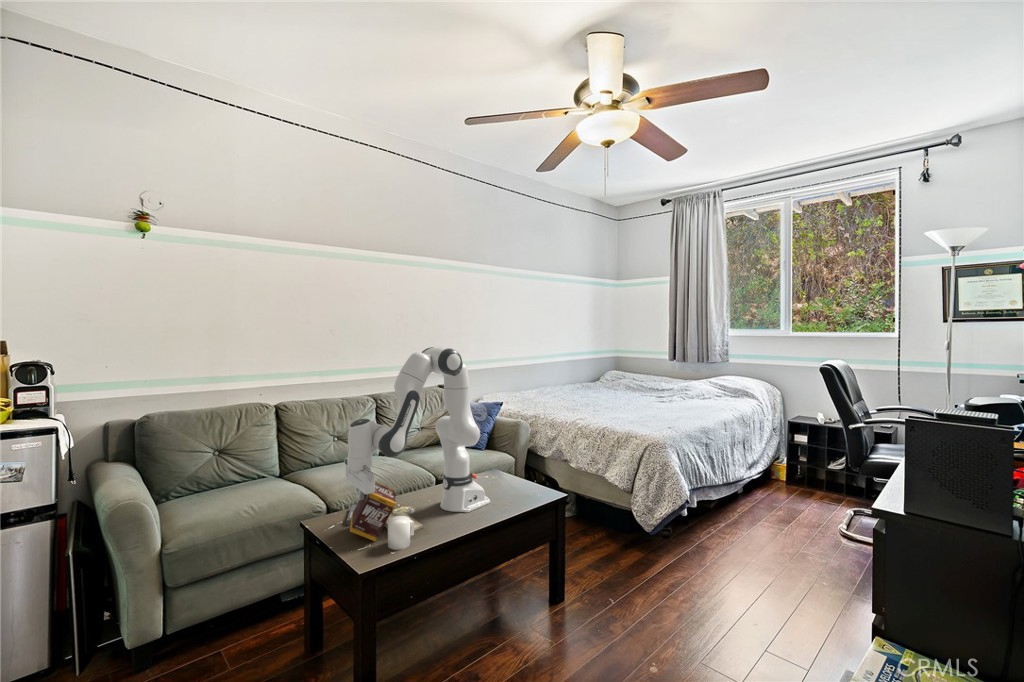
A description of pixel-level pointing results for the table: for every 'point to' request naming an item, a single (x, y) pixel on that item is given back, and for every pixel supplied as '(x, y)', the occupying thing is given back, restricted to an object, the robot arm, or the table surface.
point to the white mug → (400, 532)
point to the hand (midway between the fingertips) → (360, 498)
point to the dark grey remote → (350, 514)
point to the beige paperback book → (402, 513)
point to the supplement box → (373, 512)
